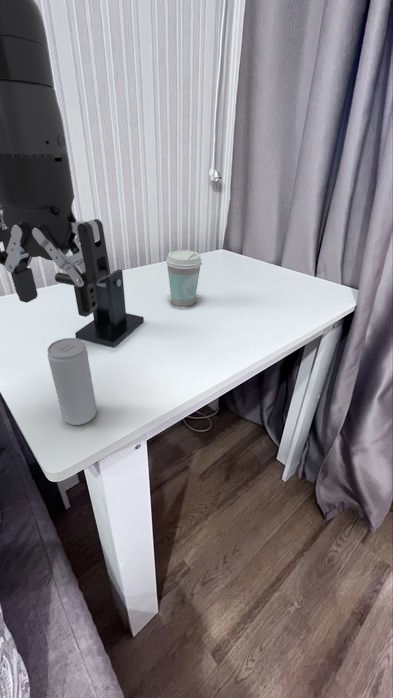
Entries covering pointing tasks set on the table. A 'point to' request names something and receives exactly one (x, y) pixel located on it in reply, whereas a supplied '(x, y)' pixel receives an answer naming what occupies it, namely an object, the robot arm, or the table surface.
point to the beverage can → (72, 380)
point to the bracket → (110, 314)
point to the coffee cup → (183, 276)
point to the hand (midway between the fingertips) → (57, 306)
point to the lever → (67, 280)
